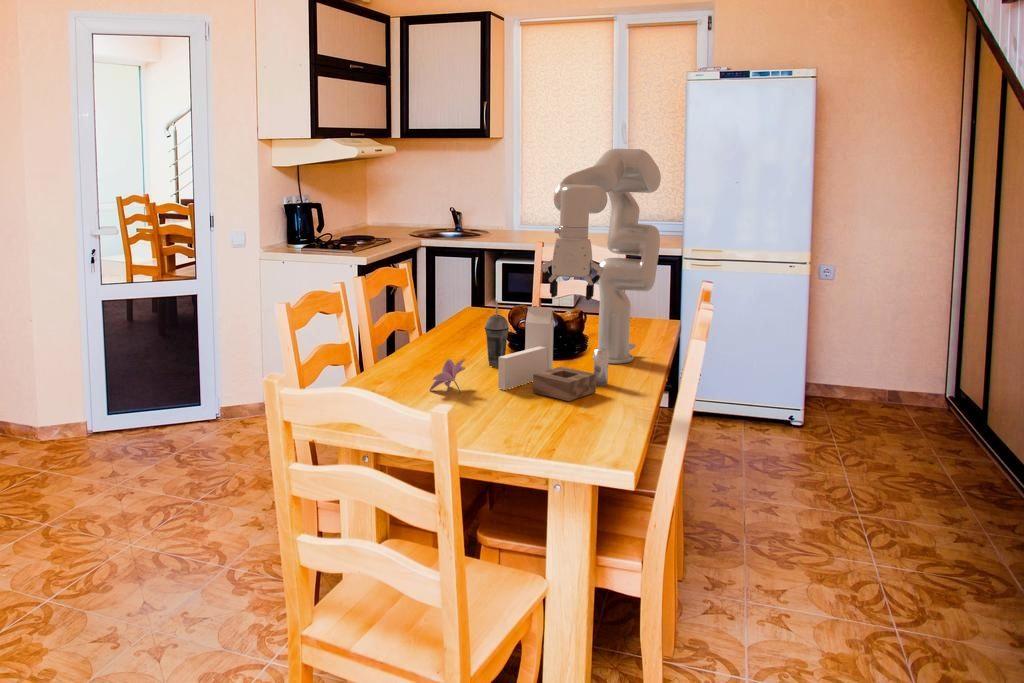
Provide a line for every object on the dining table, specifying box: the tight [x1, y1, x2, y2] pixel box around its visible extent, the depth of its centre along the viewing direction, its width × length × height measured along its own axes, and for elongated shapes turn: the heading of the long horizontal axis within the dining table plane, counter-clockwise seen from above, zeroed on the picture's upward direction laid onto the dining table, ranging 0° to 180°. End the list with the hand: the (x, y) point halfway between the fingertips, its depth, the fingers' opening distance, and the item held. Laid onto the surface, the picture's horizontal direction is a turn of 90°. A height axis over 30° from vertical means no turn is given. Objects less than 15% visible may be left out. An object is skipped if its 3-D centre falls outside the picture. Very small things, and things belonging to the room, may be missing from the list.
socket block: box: [532, 366, 597, 402], centre depth 239 cm, size 12×12×5 cm
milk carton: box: [524, 306, 555, 371], centre depth 261 cm, size 7×7×19 cm
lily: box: [429, 357, 466, 394], centre depth 239 cm, size 12×12×10 cm
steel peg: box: [593, 347, 609, 387], centre depth 248 cm, size 4×4×10 cm
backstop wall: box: [497, 346, 547, 391], centre depth 248 cm, size 18×2×9 cm, turn 140°
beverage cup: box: [484, 300, 510, 368], centre depth 266 cm, size 7×7×20 cm
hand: (571, 298), depth 238 cm, fingers open, 9 cm apart
